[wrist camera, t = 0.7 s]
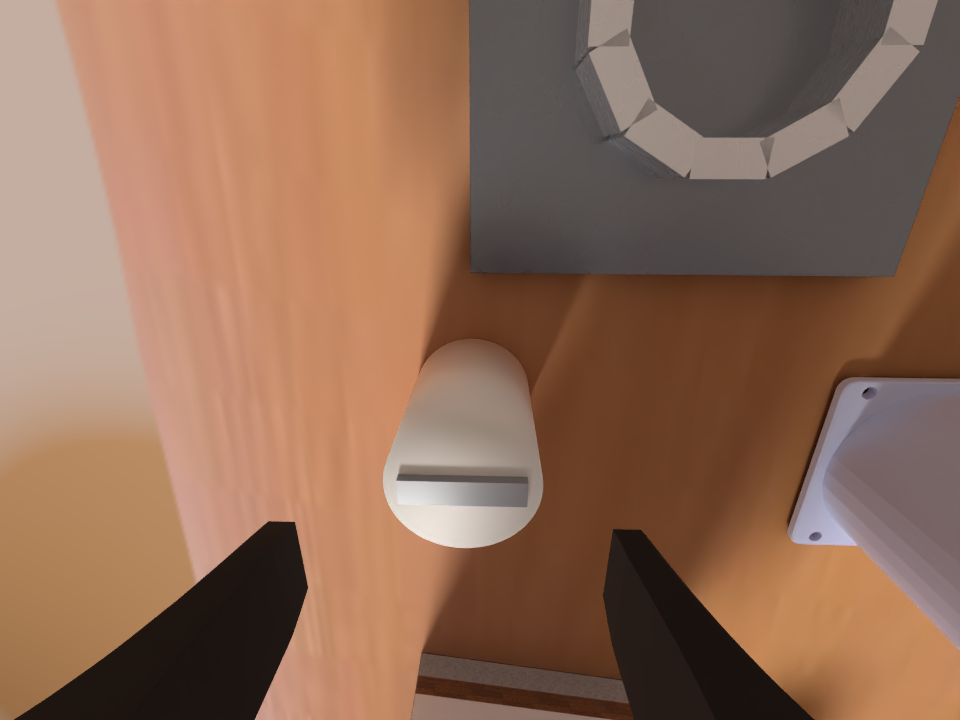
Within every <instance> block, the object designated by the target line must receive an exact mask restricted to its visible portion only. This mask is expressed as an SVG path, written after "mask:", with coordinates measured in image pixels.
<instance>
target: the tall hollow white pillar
mask: <svg viewBox="0 0 960 720" xmlns="http://www.w3.org/2000/svg"><path fill="white" fill-rule="evenodd" d="M411 720H634V718H633V715H632V712H631V708H630V705H629V701H628V698H627V695H626V691H625V688H624V684H623V681H622V680H616V679H609V678H602V677H594V676H587V675H580V674H572V673H565V672H558V671H550V670H543V669H536V668H528V667H521V666H514V665H506V664H499V663H492V662H484V661H477V660H470V659H462V658H455V657H448V656H440V655H433V654H426V653H422V654H421V660H420V666H419V672H418V678H417V685H416V691H415V697H414V703H413V709H412V715H411Z"/></svg>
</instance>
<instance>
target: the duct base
mask: <svg viewBox="0 0 960 720" xmlns="http://www.w3.org/2000/svg"><path fill="white" fill-rule="evenodd" d="M469 46H470V236H471V273H547V274H655V275H763V276H871V277H894V275H895V273H896V270H897V267H898V264H899V261H900V259H901V256H902V253H903V250H904V248H905V245H906V242H907V239H908V236H909V234H910V231H911V228H912V225H913V223H914V220H915V217H916V214H917V212H918V209H919V206H920V203H921V200H922V198H923V195H924V192H925V189H926V187H927V184H928V181H929V178H930V176H931V173H932V170H933V167H934V164H935V162H936V159H937V156H938V153H939V151H940V148H941V145H942V142H943V140H944V137H945V134H946V131H947V128H948V126H949V123H950V120H951V117H952V115H953V112H954V109H955V106H956V104H957V101H958V98H959V95H960V0H469Z"/></svg>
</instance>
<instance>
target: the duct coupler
mask: <svg viewBox="0 0 960 720" xmlns="http://www.w3.org/2000/svg"><path fill="white" fill-rule="evenodd" d="M383 487H384V493H385V496H386V499H387V502H388V504H389V506H390V508H391V510H392V511H393V513H394V514H395V516H396V517H397V518H398V519H399V520H400V521H401V522H402V524H404V525H405V526H406V527H407V528H408V529H409V530H411V531H412V532H414V533H415V534H417V535H418V536H420V537H422V538H424V539H426V540H429V541H431V542H434V543H437V544H440V545H444V546H449V547H455V548H477V547H484V546H488V545H493V544H495V543H498V542H501V541H503V540H505V539H508V538H510V537H511V536H513V535H514V534H516V533H518V532H519V531H520V530H521V529H522V528H524V527H525V526H526V525H527V524H528V523H529V521H530V520H531V519H532V518H533V516H534V515H535V513H536V511H537V509H538V507H539V505H540V502H541V499H542V494H543V476H542V469H541V463H540V457H539V450H538V444H537V437H536V431H535V424H534V418H533V412H532V405H531V399H530V392H529V386H528V380H527V376H526V373H525V371H524V369H523V367H522V365H521V364H520V362H519V361H518V360H517V358H516V357H515V356H514V355H513V354H512V353H510V352H509V351H508V350H507V349H505V348H504V347H502V346H500V345H498V344H496V343H493V342H490V341H487V340H482V339H473V338H472V339H461V340H456V341H453V342H450V343H448V344H445V345H443V346H442V347H440V348H439V349H437V350H436V351H435V352H433V353H432V354H431V355H430V356H429V357H428V359H427V360H426V361H425V363H424V364H423V366H422V368H421V370H420V373H419V375H418V378H417V381H416V383H415V386H414V389H413V391H412V394H411V397H410V399H409V402H408V405H407V408H406V410H405V413H404V416H403V418H402V421H401V424H400V426H399V429H398V432H397V434H396V437H395V440H394V442H393V445H392V448H391V450H390V453H389V456H388V458H387V461H386V464H385V468H384V474H383Z"/></svg>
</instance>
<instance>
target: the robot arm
mask: <svg viewBox="0 0 960 720" xmlns="http://www.w3.org/2000/svg"><path fill="white" fill-rule="evenodd" d="M867 388H869V389H868V391H867V392H866V393H864V394H862V393H863V392H864V390H865V389H867ZM787 534H788V536H789V537H790V539H791V540H792V541H793V542H795V543H797V544H816V545H856V546H859V547H860V548H861V549H862V550H863V551H864V552H865V553H866V554H867V555H868V556H869V557H870V558H871V559H872V560H873V562H874V563H875V564H876V565H877V566H878V567H879V568H880V569H881V570H882V571H883V572H884V573H885V574H886V575H887V576H888V577H889V578H890V579H891V580H892V581H893V582H894V583H895V584H896V585H897V586H898V587H899V588H900V589H901V590H902V591H903V593H904V594H905V595H906V596H907V597H908V598H909V599H910V600H911V601H912V602H913V603H914V604H915V605H916V606H917V607H918V608H919V609H920V610H921V611H922V612H923V613H924V614H925V615H926V616H927V617H928V618H929V619H930V620H931V621H932V622H933V624H934V625H935V626H936V627H937V628H938V629H939V630H940V631H941V632H942V633H943V634H944V635H945V636H946V637H947V638H948V639H949V640H950V641H951V642H952V643H953V644H954V645H955V646H956V647H957V648H958V649H959V650H960V379H939V378H874V377H852V378H847V379H845V380H843V381H842V382H841V383H840V384H839V385H838V386H837V388H836V391H835V393H834V396H833V399H832V402H831V405H830V408H829V411H828V414H827V417H826V420H825V422H824V425H823V428H822V431H821V434H820V437H819V440H818V443H817V446H816V449H815V452H814V454H813V457H812V460H811V463H810V466H809V469H808V472H807V475H806V478H805V481H804V483H803V486H802V489H801V492H800V495H799V498H798V501H797V504H796V507H795V510H794V513H793V515H792V518H791V521H790V524H789V527H788V530H787ZM307 589H308V585H307V580H306V575H305V570H304V565H303V560H302V555H301V550H300V545H299V540H298V535H297V530H296V525H295V522H271V521H269V522H267V523H266V524H265V525H264V526H263V527H261V528H260V529H259V530H258V531H257V532H256V533H254V534H253V535H252V536H251V537H250V538H249V539H248V540H246V541H245V542H244V543H243V544H242V545H241V546H240V547H238V548H237V549H236V550H235V551H234V552H233V553H232V554H231V555H229V556H228V557H227V558H226V559H225V560H224V561H223V562H221V563H220V564H219V565H218V566H217V567H216V568H215V569H213V570H212V571H211V572H210V573H209V574H208V575H206V576H205V577H204V578H203V579H202V580H201V581H199V582H198V583H197V584H196V585H195V586H194V587H192V588H191V589H190V590H189V591H188V592H187V593H185V594H184V595H183V596H182V597H181V598H179V599H178V600H177V601H176V602H174V604H172V605H171V606H170V607H168V608H167V609H166V610H164V611H163V612H162V613H161V614H159V615H158V616H157V617H156V618H154V619H153V620H152V621H151V622H149V623H148V624H147V625H146V626H144V627H143V628H142V629H141V630H139V631H138V632H137V633H136V634H134V635H133V636H132V637H131V638H130V639H128V640H127V641H126V642H124V643H123V644H122V645H120V646H119V647H118V648H117V649H115V650H114V651H112V652H111V653H110V654H108V655H107V656H106V657H104V658H103V659H102V660H100V661H99V662H98V663H96V664H95V665H94V666H92V667H91V668H89V669H88V670H86V671H85V672H84V673H82V674H81V675H79V676H78V677H77V678H75V679H74V680H72V681H71V682H70V683H68V684H67V685H65V686H64V687H62V688H61V689H60V690H58V691H57V692H55V693H54V694H52V695H51V696H50V697H48V698H46V699H45V700H44V701H42V702H41V703H39V704H38V705H36V706H34V707H33V708H31V709H30V710H28V711H27V712H25V713H24V714H22V715H21V716H19V717H17V718H16V719H14V720H255V718H256V715H257V713H258V711H259V709H260V707H261V704H262V702H263V700H264V698H265V696H266V693H267V691H268V689H269V687H270V685H271V682H272V680H273V678H274V676H275V674H276V671H277V669H278V667H279V665H280V662H281V660H282V658H283V656H284V654H285V651H286V649H287V647H288V645H289V642H290V640H291V638H292V635H293V632H294V629H295V627H296V624H297V621H298V618H299V615H300V612H301V608H302V605H303V602H304V599H305V596H306V592H307ZM603 597H604V603H605V609H606V614H607V620H608V626H609V631H610V636H611V641H612V646H613V649H614V653H615V657H616V660H617V664H618V667H619V670H620V674H621V677H622V681H623V684H624V688H625V691H626V695H627V698H628V701H629V705H630V708H631V712H632V715H633V718H634V720H814V719H813V718H812V717H811V716H810V715H809V714H808V713H807V712H806V711H805V710H803V709H802V708H801V707H800V706H799V705H798V704H797V703H796V702H795V701H794V700H793V699H792V698H791V697H790V696H789V695H788V694H787V693H786V692H785V691H784V690H782V689H781V688H780V687H779V686H778V685H777V684H776V683H775V682H774V681H773V680H772V679H771V678H770V677H769V676H768V675H767V674H766V673H765V672H764V671H763V670H762V669H761V668H760V666H759V665H758V664H757V663H756V662H755V661H754V660H753V659H752V658H751V657H750V656H749V655H748V654H747V653H746V652H745V651H744V650H743V649H742V648H741V647H740V646H739V644H738V643H737V642H736V641H735V640H734V639H733V638H732V637H731V636H730V635H729V634H728V633H727V631H726V630H725V629H724V628H723V627H722V626H721V625H720V624H719V623H718V622H717V620H716V619H715V618H714V617H713V616H712V615H711V614H710V612H709V611H708V610H707V609H706V608H705V607H704V606H703V604H702V603H701V602H700V601H699V600H698V599H697V598H696V596H695V595H694V594H693V593H692V592H691V591H690V589H689V588H688V587H687V586H686V585H685V583H684V582H683V581H682V580H681V579H680V577H679V576H678V575H677V574H676V572H675V571H674V570H673V569H672V568H671V566H670V565H669V564H668V563H667V561H666V560H665V559H664V558H663V556H662V555H661V554H660V553H659V551H658V550H657V549H656V548H655V546H654V545H653V544H652V543H651V541H650V540H649V539H648V538H647V536H646V535H645V534H644V533H643V532H642V531H641V530H622V529H613V534H612V540H611V547H610V554H609V560H608V567H607V573H606V580H605V587H604V593H603Z"/></svg>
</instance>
